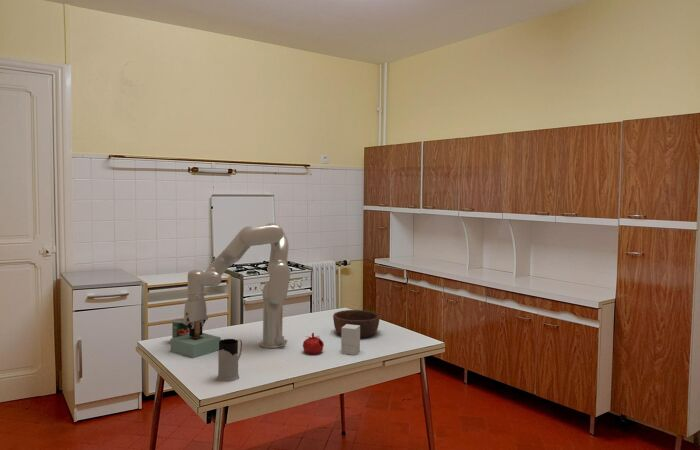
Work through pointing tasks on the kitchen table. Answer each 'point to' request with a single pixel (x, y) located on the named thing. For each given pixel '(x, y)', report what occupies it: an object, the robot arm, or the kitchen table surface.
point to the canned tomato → (179, 328)
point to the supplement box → (350, 339)
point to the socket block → (195, 345)
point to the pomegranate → (313, 345)
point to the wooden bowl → (357, 321)
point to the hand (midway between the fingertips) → (195, 335)
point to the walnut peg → (196, 330)
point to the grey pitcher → (228, 360)
